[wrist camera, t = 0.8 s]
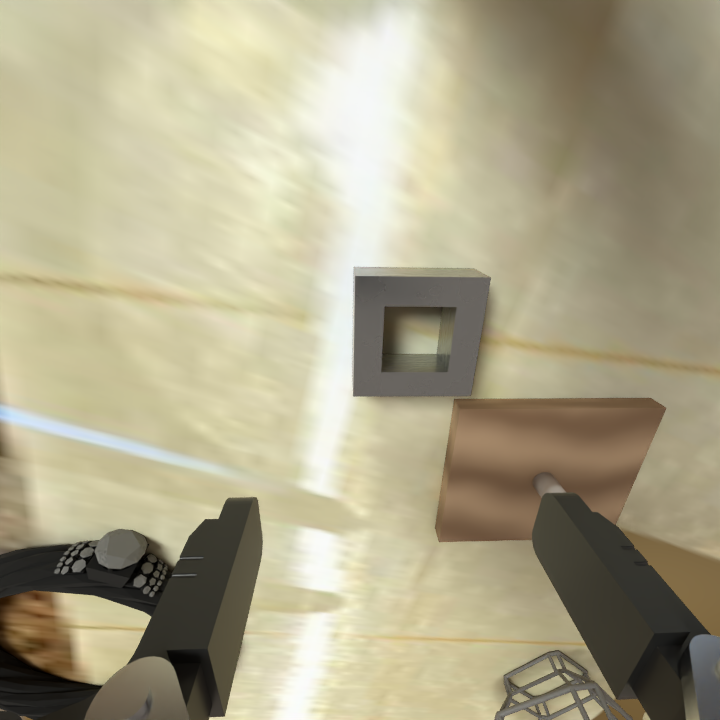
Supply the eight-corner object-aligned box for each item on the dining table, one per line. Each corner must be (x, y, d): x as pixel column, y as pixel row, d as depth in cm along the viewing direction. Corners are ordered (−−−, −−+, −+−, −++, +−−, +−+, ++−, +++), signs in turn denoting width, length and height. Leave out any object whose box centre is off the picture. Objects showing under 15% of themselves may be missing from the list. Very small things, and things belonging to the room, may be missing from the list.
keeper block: (454, 399, 28) (479, 443, 23) (650, 398, 28) (718, 441, 23) (435, 527, 33) (451, 586, 28) (599, 524, 34) (644, 581, 29)
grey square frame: (353, 267, 23) (355, 275, 20) (473, 268, 24) (490, 277, 21) (352, 376, 26) (353, 396, 24) (457, 376, 27) (470, 395, 24)
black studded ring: (-91, 711, 36) (-90, 515, 26) (-53, 666, 40) (-39, 477, 29) (180, 752, 42) (271, 606, 32) (193, 710, 46) (278, 566, 35)
